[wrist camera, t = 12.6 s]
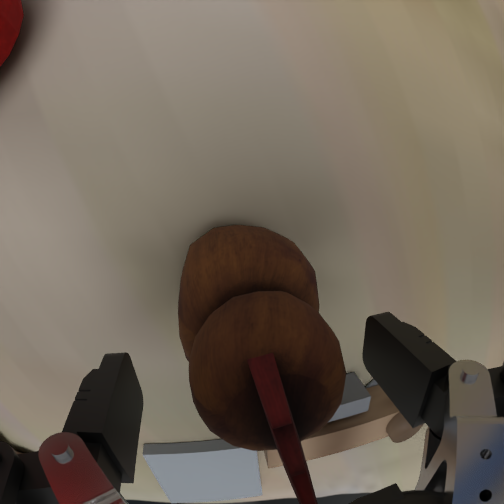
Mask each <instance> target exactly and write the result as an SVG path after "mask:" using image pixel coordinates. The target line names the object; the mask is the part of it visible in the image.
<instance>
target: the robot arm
mask: <svg viewBox="0 0 504 504" xmlns="http://www.w3.org/2000/svg"><path fill="white" fill-rule="evenodd" d="M363 362H364V365H365V367H366V369H367V371H368V372H369V373H370V374H371V376H372V377H373V378H374V379H375V381H376V382H377V383H378V385H379V386H380V387H381V388H382V390H383V391H384V392H385V393H386V395H387V396H388V397H389V398H390V400H391V401H392V402H393V404H394V405H395V406H396V407H397V409H398V410H399V411H400V413H401V414H402V415H403V416H404V418H405V419H406V420H407V422H408V423H409V424H410V425H411V427H412V428H415V427H417V426H420V425H422V424H424V423H426V424H427V425H428V428H427V431H426V435H425V443H424V451H423V458H422V465H421V471H420V476H419V480H418V483H417V485H416V487H415V490H412V491H403V492H401V490H400V489H399V487H398V486H397V484H396V483H395V484H393V485H391V486H388V487H386V488H384V489H381V490H379V491H376V492H374V493H371V494H369V495H366V496H363V497H360V498H358V499H356V500H354V501H353V502H351V503H349V504H504V363H503V365H502V366H501V367H497V368H492V369H487V368H486V367H485V366H484V365H482V364H481V363H479V362H476V361H472V360H460V361H455V360H454V359H453V358H452V357H451V356H450V355H448V354H447V353H446V352H445V351H444V350H442V349H441V348H440V347H439V346H438V345H437V344H435V343H434V342H432V340H431V339H429V338H428V337H427V336H424V334H423V333H422V332H421V331H420V330H418V329H417V328H416V327H414V326H412V325H409V324H407V323H405V322H401V321H400V320H398V319H397V318H396V317H395V316H394V315H392V314H391V313H390V312H385V313H381V314H377V315H373V316H369V317H368V318H367V320H366V327H365V337H364V346H363ZM142 411H143V395H142V390H141V387H140V384H139V381H138V379H137V376H136V373H135V370H134V367H133V364H132V361H131V358H130V356H129V354H128V353H111V354H105V355H104V357H103V360H102V362H101V365H100V367H99V369H93V370H92V371H91V372H90V373H89V374H88V375H87V376H86V377H85V378H84V379H83V381H82V383H81V385H80V388H79V392H77V395H76V397H75V401H74V402H73V405H72V407H71V410H70V412H69V415H68V417H67V420H66V423H65V425H64V428H63V431H62V432H61V433H57V434H54V435H52V436H50V437H48V438H47V439H46V440H45V441H44V442H43V443H42V445H41V446H40V449H39V451H37V452H30V453H22V454H16V453H15V451H14V450H13V449H12V447H11V446H10V445H9V444H7V443H5V442H2V441H0V504H128V503H127V501H126V500H125V499H124V497H123V496H122V495H121V494H120V486H121V483H134V473H135V464H136V455H137V447H138V439H139V432H140V424H141V417H142Z"/></svg>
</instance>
